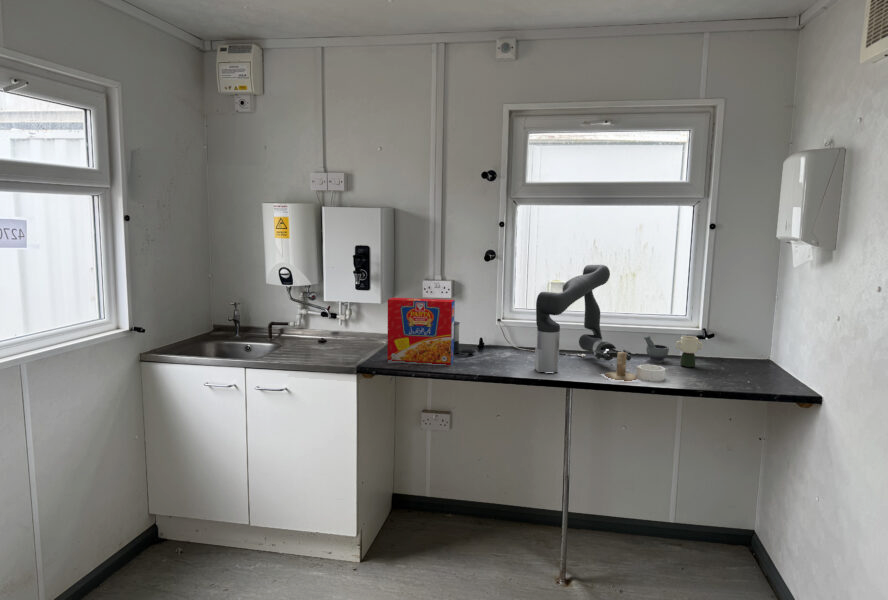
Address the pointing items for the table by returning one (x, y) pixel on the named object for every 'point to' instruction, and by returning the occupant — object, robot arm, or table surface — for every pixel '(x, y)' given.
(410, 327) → the pasta box
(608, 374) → the paper towel holder
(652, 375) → the bowl
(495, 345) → the table surface
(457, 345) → the milk frother
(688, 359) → the character mug
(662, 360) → the mortar and pestle
